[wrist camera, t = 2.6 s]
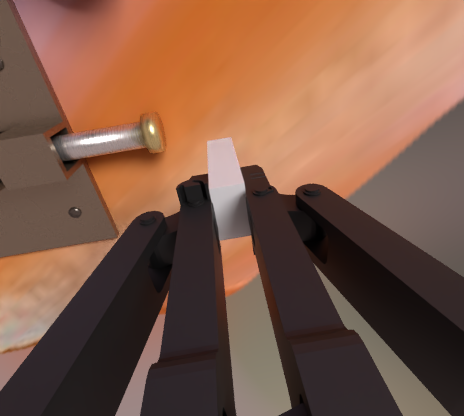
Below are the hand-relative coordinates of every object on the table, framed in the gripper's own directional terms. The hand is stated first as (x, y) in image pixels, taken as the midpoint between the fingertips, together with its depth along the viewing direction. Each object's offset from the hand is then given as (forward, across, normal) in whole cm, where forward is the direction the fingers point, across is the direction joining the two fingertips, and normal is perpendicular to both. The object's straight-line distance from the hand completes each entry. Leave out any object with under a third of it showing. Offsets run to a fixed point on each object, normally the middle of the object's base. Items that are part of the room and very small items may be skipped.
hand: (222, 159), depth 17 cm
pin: (+10, -14, 0) cm, 17 cm away
